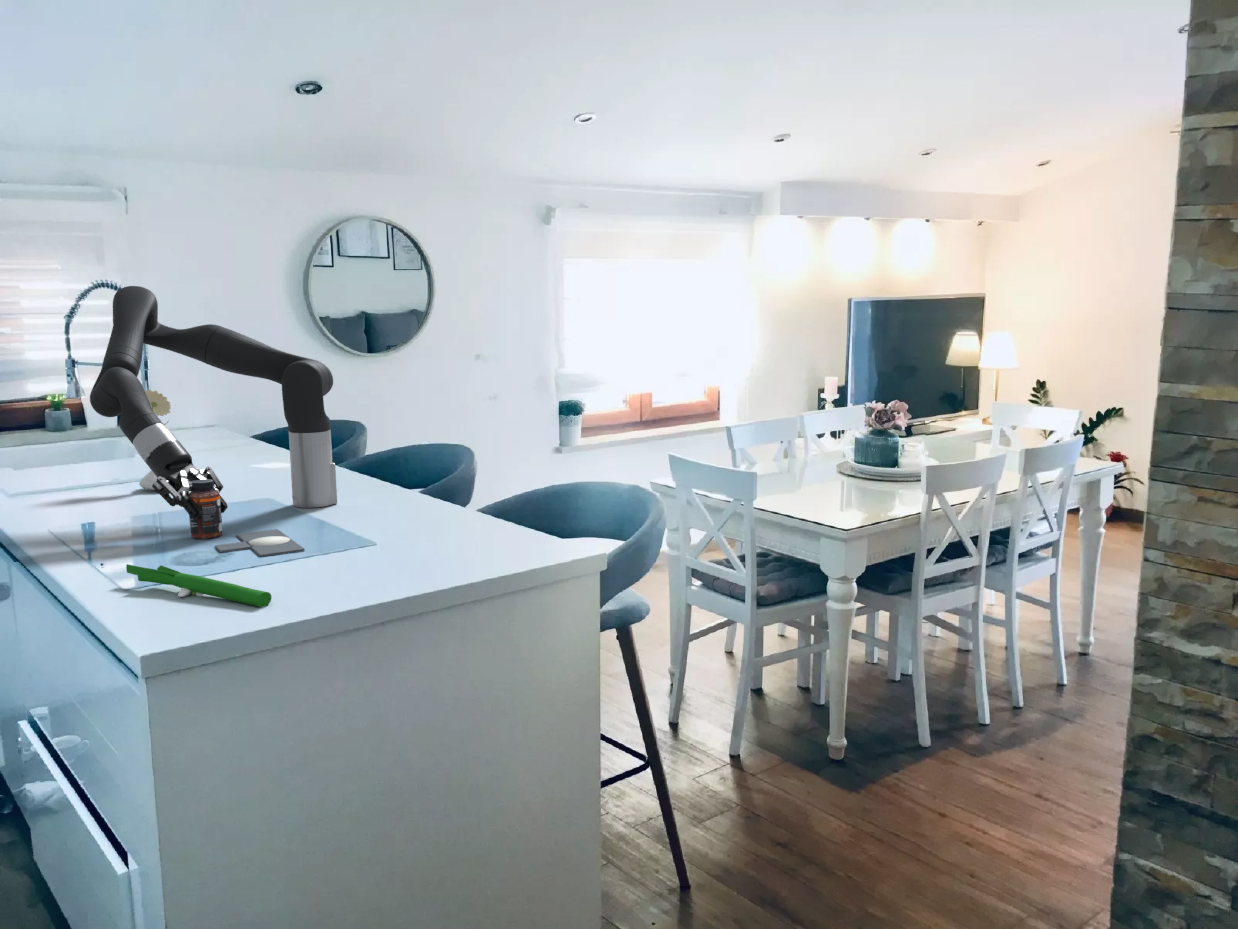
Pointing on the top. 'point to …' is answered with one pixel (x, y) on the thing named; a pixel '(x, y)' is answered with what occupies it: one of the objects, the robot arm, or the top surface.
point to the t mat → (263, 543)
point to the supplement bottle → (206, 510)
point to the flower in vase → (162, 408)
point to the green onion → (201, 585)
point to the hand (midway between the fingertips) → (211, 513)
